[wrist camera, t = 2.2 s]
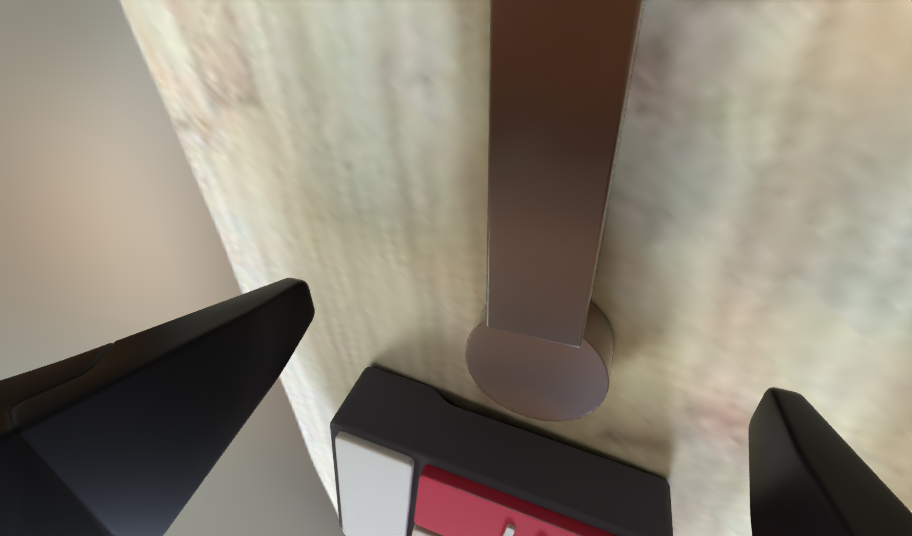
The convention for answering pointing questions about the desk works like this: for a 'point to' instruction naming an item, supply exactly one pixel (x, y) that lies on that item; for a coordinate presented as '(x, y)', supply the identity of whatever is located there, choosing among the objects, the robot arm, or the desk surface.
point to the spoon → (550, 200)
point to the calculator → (474, 473)
